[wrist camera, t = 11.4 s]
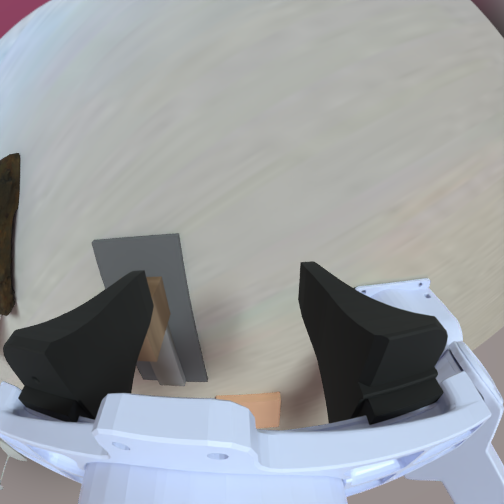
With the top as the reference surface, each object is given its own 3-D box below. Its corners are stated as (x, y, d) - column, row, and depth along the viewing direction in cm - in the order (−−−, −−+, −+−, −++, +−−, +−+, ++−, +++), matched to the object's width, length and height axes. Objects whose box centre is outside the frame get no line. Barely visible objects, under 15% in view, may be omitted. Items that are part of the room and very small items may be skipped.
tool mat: (178, 233, 21) (177, 235, 20) (207, 378, 29) (207, 381, 28) (94, 240, 21) (91, 242, 20) (144, 376, 29) (143, 379, 28)
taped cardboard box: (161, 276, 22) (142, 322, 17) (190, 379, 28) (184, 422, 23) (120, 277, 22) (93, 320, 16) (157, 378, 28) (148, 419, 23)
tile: (280, 399, 30) (279, 426, 33) (279, 389, 31) (277, 417, 35) (215, 403, 29) (224, 429, 33) (216, 392, 31) (224, 420, 34)
